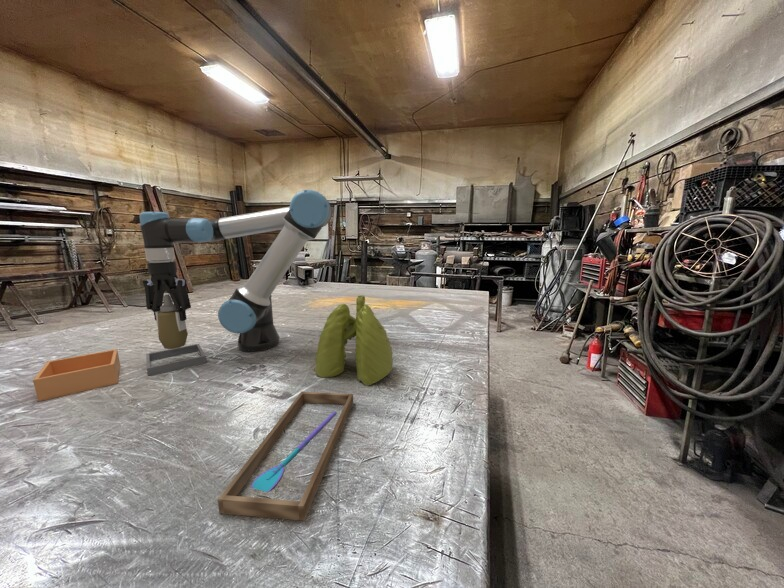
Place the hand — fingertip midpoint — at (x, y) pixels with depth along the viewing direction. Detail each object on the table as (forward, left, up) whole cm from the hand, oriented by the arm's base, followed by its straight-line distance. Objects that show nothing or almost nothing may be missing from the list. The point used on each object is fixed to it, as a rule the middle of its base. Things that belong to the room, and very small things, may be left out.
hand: (172, 329), depth 102 cm
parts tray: (0, 0, -11) cm, 11 cm away
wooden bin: (+16, +16, -11) cm, 26 cm away
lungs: (-63, +2, -12) cm, 64 cm away
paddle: (-60, +37, -12) cm, 72 cm away
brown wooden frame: (-60, +37, -11) cm, 71 cm away
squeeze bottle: (0, 0, -6) cm, 6 cm away
